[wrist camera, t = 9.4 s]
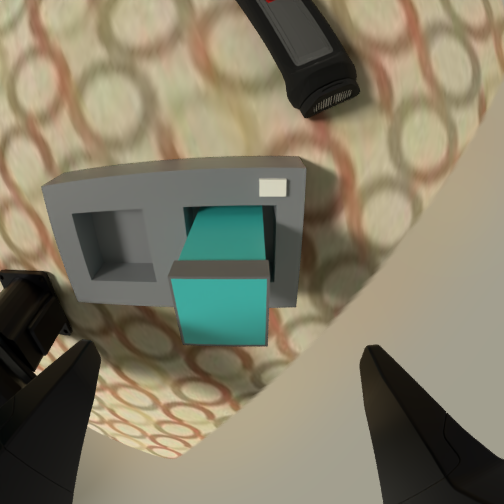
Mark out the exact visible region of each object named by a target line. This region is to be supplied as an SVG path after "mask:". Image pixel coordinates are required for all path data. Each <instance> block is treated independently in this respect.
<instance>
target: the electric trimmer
mask: <svg viewBox="0 0 504 504" xmlns="http://www.w3.org/2000/svg"><path fill="white" fill-rule="evenodd" d="M236 1H237V3H238V4H239V5H240V7H241V8H242V10H243V11H244V13H245V14H246V16H247V17H248V19H249V20H250V22H251V23H252V25H253V26H254V28H255V29H256V31H257V32H258V34H259V35H260V37H261V38H262V40H263V42H264V43H265V45H266V46H267V48H268V50H269V51H270V53H271V55H272V57H273V59H274V60H275V62H276V64H277V66H278V68H279V70H280V71H281V73H282V75H283V78H284V80H285V84H286V91H287V97H288V99H289V101H290V103H291V104H292V105H293V107H294V108H297V109H300V111H301V113H302V115H303V116H304V118H309V117H311V116H313V115H315V114H317V113H320V112H322V111H324V110H326V109H328V108H331V107H333V106H335V105H337V104H340V103H342V102H344V101H347V100H349V99H351V98H353V97H355V96H357V95H358V94H359V92H360V88H359V86H358V84H357V82H356V77H357V76H356V70H355V66H354V64H353V63H352V61H351V59H350V58H349V56H348V55H347V53H346V51H345V50H344V48H343V46H342V45H341V43H340V41H339V40H338V38H337V36H336V35H335V33H334V31H333V30H332V28H331V27H330V25H329V24H328V22H327V21H326V20H325V18H324V17H323V15H322V14H321V12H320V11H319V10H318V8H317V7H316V6H315V4H314V3H313V2H312V0H236Z"/></svg>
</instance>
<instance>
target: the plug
mask: <svg viewBox="0 0 504 504" xmlns="http://www.w3.org/2000/svg"><path fill="white" fill-rule="evenodd" d="M168 281H169V286H170V291H171V295H172V300H173V305H174V309H175V314H176V318H177V322H178V327H179V331H180V335H181V339H182V343H183V345H199V346H268V322H269V293H270V270H269V260H266V258H265V242H264V227H263V212H262V205H237V206H200V208H199V211H198V213H197V215H196V218H195V220H194V222H193V225H192V227H191V230H190V232H189V234H188V237H187V239H186V242H185V244H184V247H183V249H182V252H181V254H180V257H179V259H178V260H174V262H173V264H172V267H171V269H170V272H169V274H168Z"/></svg>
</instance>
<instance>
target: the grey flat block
mask: <svg viewBox="0 0 504 504" xmlns="http://www.w3.org/2000/svg"><path fill="white" fill-rule="evenodd" d="M305 186H306V167H305V165H304V164H303V162H302V161H301V159H300V158H299V156H232V157H205V158H187V159H173V160H160V161H149V162H139V163H130V164H121V165H113V166H105V167H98V168H91V169H84V170H78V171H71V172H66V173H63V174H61V175H59V176H58V177H56V178H54V179H53V180H51V181H49V182H48V183H46V184H44V185H43V186H41V187H42V192H43V196H44V200H45V204H46V208H47V212H48V216H49V219H50V223H51V226H52V230H53V233H54V236H55V240H56V243H57V246H58V249H59V252H60V255H61V258H62V261H63V264H64V267H65V269H66V272H67V275H68V277H69V280H70V283H71V285H72V288H73V290H74V293H75V295H76V298H77V300H78V302H87V303H101V304H117V305H136V306H159V307H174V305H173V300H172V295H171V291H170V286H169V281H168V274H169V272H170V269H171V267H172V264H173V262H174V260H178V259H179V257H180V254H181V252H182V249H183V247H184V244H185V242H186V239H187V237H188V234H189V232H190V230H191V227H192V225H193V222H194V220H195V218H196V215H197V213H198V211H199V208H200V206H237V205H262V212H263V227H264V242H265V258H266V260H269V270H270V293H269V308H282V307H296V302H297V292H298V282H299V271H300V259H301V247H302V233H303V219H304V203H305Z"/></svg>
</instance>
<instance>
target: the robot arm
mask: <svg viewBox="0 0 504 504" xmlns="http://www.w3.org/2000/svg"><path fill="white" fill-rule="evenodd" d="M0 281H1V283H2V285H3V287H4V289H3V290H2V291H1V293H0V504H72V502H73V495H74V494H73V493H74V488H75V482H76V476H77V471H78V466H79V461H80V455H81V450H82V446H83V442H84V437H85V433H86V429H87V425H88V421H89V417H90V413H91V409H92V405H93V401H94V397H95V392H96V386H97V380H98V374H99V369H100V364H101V357H100V354H99V353H98V351H97V349H96V347H95V345H94V343H93V342H92V341H91V340H84V339H82V340H80V341H79V342H77V343H76V344H75V345H74V346H72V347H71V348H70V349H69V350H68V351H66V352H65V353H64V354H63V355H62V356H60V357H59V358H58V359H57V360H55V361H54V362H53V363H52V364H51V365H49V366H48V367H47V368H46V369H45V370H43V371H42V372H41V373H40V374H39V375H38V376H37V375H36V374H35V373H34V372H35V370H36V368H37V367H38V365H39V363H40V361H41V359H42V357H43V356H46V355H47V354H48V352H49V350H50V348H51V346H52V345H53V343H54V341H55V339H56V338H57V336H58V334H62V335H70V334H71V333H72V328H71V326H70V324H69V322H68V320H67V318H66V316H65V314H64V312H63V310H62V308H61V305H60V303H59V301H58V299H57V296H56V294H55V292H54V289H53V287H52V285H51V282H50V280H49V277H48V275H47V274H46V273H44V272H39V271H14V270H1V271H0ZM360 375H361V382H362V390H363V398H364V407H365V412H366V417H367V421H368V426H369V430H370V435H371V439H372V444H373V449H374V454H375V459H376V464H377V469H378V474H379V480H380V486H381V492H382V498H383V504H504V459H501V458H499V457H497V456H496V455H495V454H493V453H492V452H491V451H490V450H489V449H487V448H486V447H485V446H484V445H482V444H481V443H480V442H479V441H477V440H476V439H475V438H473V436H471V435H470V434H469V433H468V432H467V431H466V430H464V429H463V428H462V427H461V426H460V425H459V424H458V423H457V422H456V421H455V420H454V419H453V418H452V417H451V416H450V415H449V414H448V413H446V411H445V410H444V409H443V408H442V407H441V406H440V405H439V404H438V403H437V402H436V401H435V400H434V399H433V398H432V397H431V396H430V395H429V394H428V393H427V392H426V391H425V390H424V389H423V388H422V387H421V386H420V385H419V384H418V383H417V382H416V381H415V380H414V379H413V378H412V377H411V376H410V375H409V374H408V373H407V372H406V371H405V370H404V369H403V368H402V367H401V366H400V365H399V364H398V363H397V362H396V361H395V360H394V359H393V358H392V357H391V356H390V355H389V354H388V353H387V352H386V351H385V350H383V348H382V347H380V346H379V345H368V346H366V348H365V349H364V352H363V355H362V358H361V360H360Z"/></svg>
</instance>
